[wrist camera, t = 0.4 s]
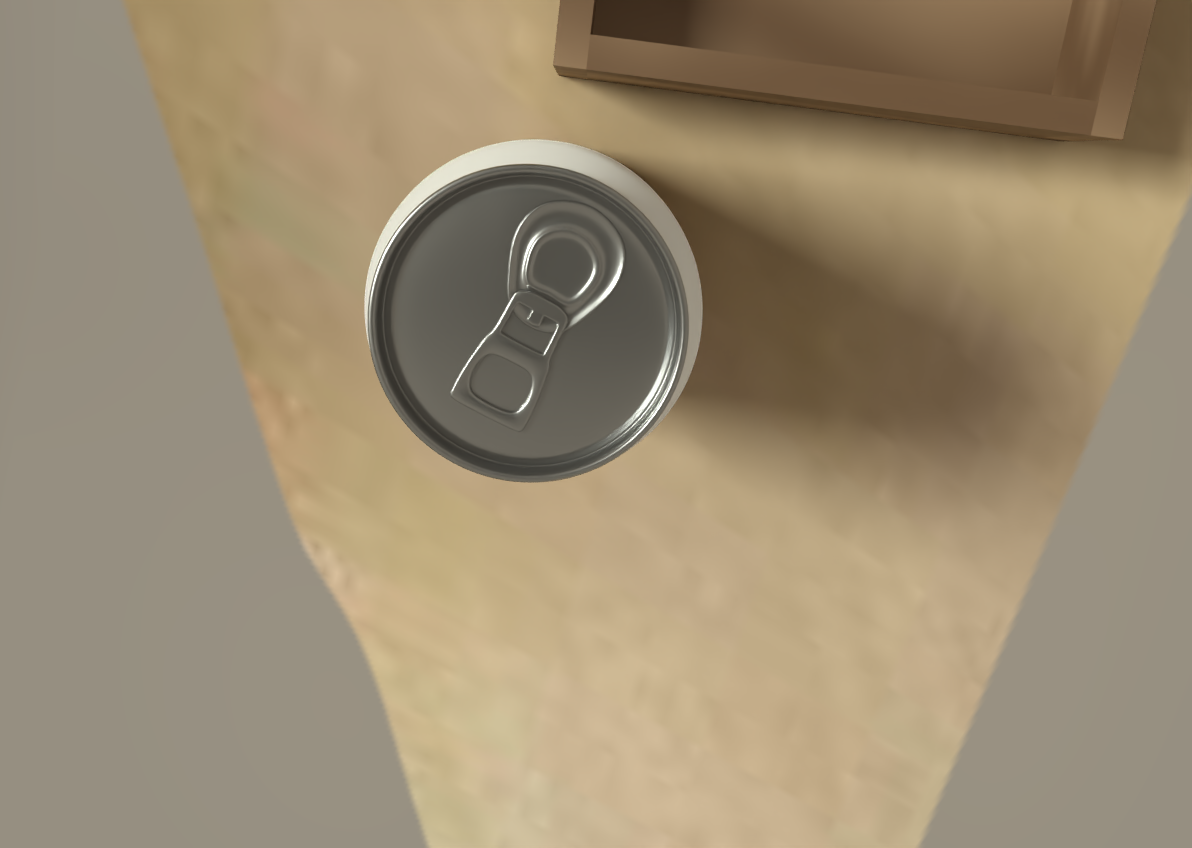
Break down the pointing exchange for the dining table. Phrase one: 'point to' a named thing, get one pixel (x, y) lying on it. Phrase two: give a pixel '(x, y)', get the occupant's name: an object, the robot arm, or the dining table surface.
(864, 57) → the walled box
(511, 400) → the can
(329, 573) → the dining table surface
